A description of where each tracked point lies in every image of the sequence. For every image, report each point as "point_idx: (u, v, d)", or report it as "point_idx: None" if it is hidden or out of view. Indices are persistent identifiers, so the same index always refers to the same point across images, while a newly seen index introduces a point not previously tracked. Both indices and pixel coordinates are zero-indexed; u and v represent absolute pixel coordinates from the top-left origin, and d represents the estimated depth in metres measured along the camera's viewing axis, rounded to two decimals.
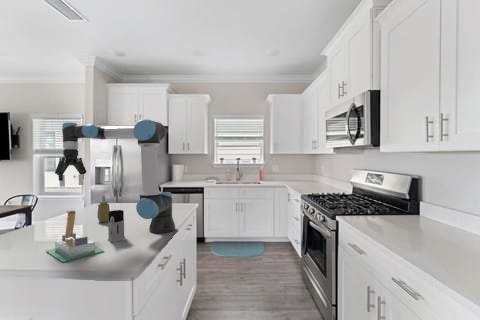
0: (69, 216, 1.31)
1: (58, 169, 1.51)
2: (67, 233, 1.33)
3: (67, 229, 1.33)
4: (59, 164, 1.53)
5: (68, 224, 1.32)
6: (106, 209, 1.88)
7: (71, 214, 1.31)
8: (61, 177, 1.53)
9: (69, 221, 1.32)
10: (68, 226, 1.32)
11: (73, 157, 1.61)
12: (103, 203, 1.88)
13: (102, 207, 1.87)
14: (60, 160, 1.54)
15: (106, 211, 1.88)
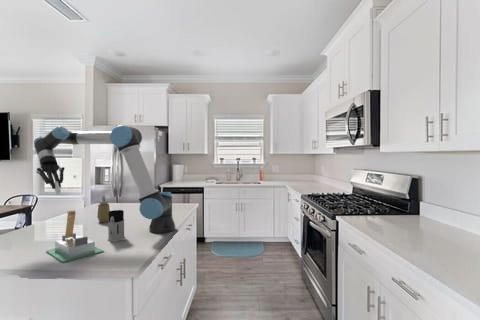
0: (69, 216, 1.31)
1: (45, 179, 1.42)
2: (67, 233, 1.33)
3: (67, 229, 1.33)
4: (41, 175, 1.43)
5: (68, 224, 1.32)
6: (106, 209, 1.88)
7: (71, 214, 1.31)
8: (53, 184, 1.42)
9: (69, 221, 1.32)
10: (68, 226, 1.32)
11: (51, 164, 1.50)
12: (103, 203, 1.88)
13: (102, 207, 1.87)
14: (39, 172, 1.44)
15: (106, 211, 1.88)
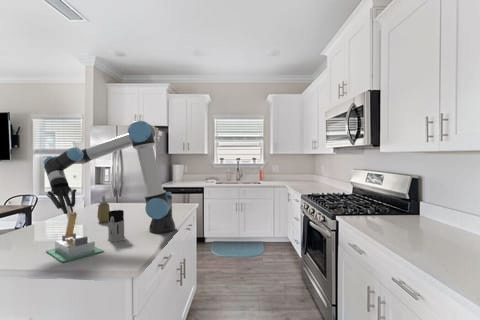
0: (70, 218, 1.30)
1: (56, 203, 1.33)
2: (67, 233, 1.33)
3: (67, 230, 1.32)
4: (52, 199, 1.34)
5: (69, 225, 1.32)
6: (106, 209, 1.88)
7: (72, 216, 1.31)
8: (65, 209, 1.33)
9: (70, 222, 1.31)
10: (69, 227, 1.32)
11: (62, 187, 1.40)
12: (103, 203, 1.88)
13: (102, 207, 1.87)
14: (49, 196, 1.34)
15: (106, 211, 1.88)
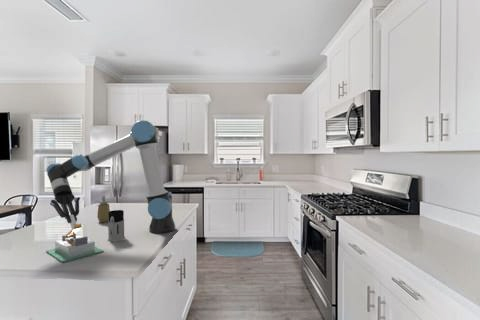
0: (74, 229, 1.27)
1: (59, 212, 1.30)
2: (68, 235, 1.33)
3: (69, 234, 1.31)
4: (56, 208, 1.31)
5: (71, 232, 1.30)
6: (106, 209, 1.88)
7: (77, 228, 1.27)
8: (68, 218, 1.30)
9: (73, 231, 1.29)
10: (71, 233, 1.30)
11: (66, 195, 1.37)
12: (103, 203, 1.88)
13: (102, 207, 1.87)
14: (53, 205, 1.32)
15: (106, 211, 1.88)
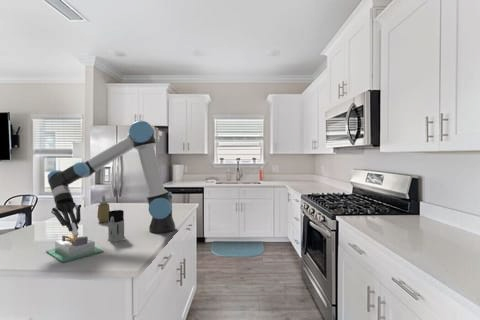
0: None
1: (61, 220, 1.29)
2: None
3: (69, 238, 1.31)
4: (57, 216, 1.30)
5: None
6: (106, 209, 1.88)
7: None
8: (70, 226, 1.29)
9: None
10: None
11: (67, 202, 1.36)
12: (103, 203, 1.88)
13: (102, 207, 1.87)
14: (54, 213, 1.31)
15: (106, 211, 1.88)
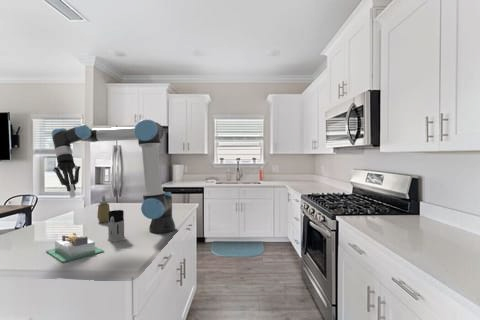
0: None
1: (61, 180, 1.45)
2: None
3: (69, 238, 1.31)
4: (58, 175, 1.45)
5: None
6: (106, 209, 1.88)
7: None
8: (68, 187, 1.46)
9: None
10: None
11: (68, 163, 1.50)
12: (103, 203, 1.88)
13: (102, 207, 1.87)
14: (55, 171, 1.45)
15: (106, 211, 1.88)
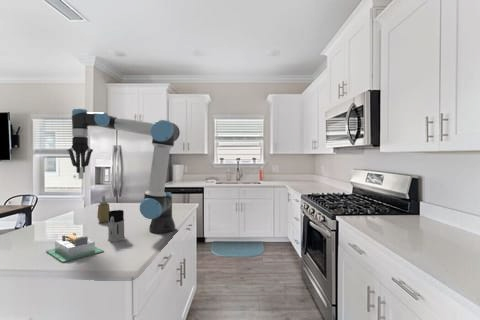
0: None
1: (72, 162, 1.52)
2: None
3: (69, 238, 1.31)
4: (70, 157, 1.52)
5: None
6: (106, 209, 1.88)
7: None
8: (78, 169, 1.54)
9: None
10: None
11: (82, 145, 1.55)
12: (103, 203, 1.88)
13: (102, 207, 1.87)
14: (69, 152, 1.52)
15: (106, 211, 1.88)
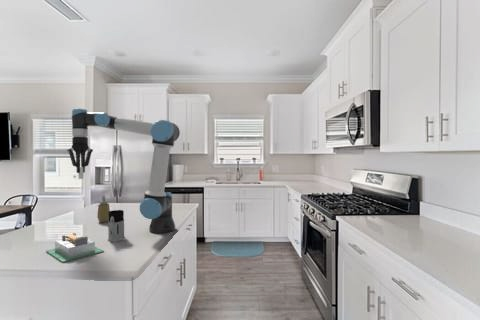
0: None
1: (72, 162, 1.52)
2: None
3: (69, 238, 1.31)
4: (70, 157, 1.52)
5: None
6: (106, 209, 1.88)
7: None
8: (78, 169, 1.54)
9: None
10: None
11: (82, 145, 1.55)
12: (103, 203, 1.88)
13: (102, 207, 1.87)
14: (69, 152, 1.52)
15: (106, 211, 1.88)
